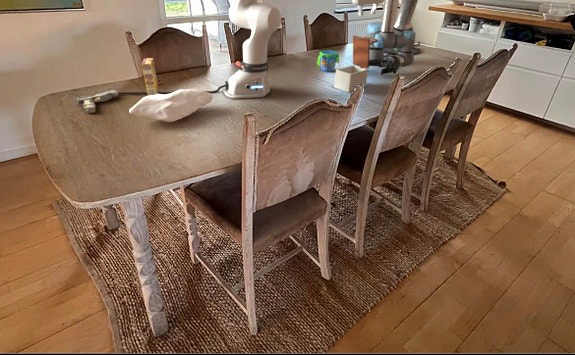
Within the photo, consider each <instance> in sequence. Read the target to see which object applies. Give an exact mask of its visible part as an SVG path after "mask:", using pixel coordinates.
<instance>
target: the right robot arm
mask: <svg viewBox="0 0 575 355" xmlns="http://www.w3.org/2000/svg"><path fill="white" fill-rule="evenodd" d="M399 1H400V0H384V2H383V6H382V13H381V20H380V21H372V22H370V23H368V25H367V27H366V32H365V33H366V34H365V37H369V38H373V39H377V40H378V42H377V43H373V44H371V45H370V51H369V67H378V68H382V69H381V70H380V75H381V76H383V75H386V74H389V73H390V74H392V73H393V74H396V73H397V71H398V70H399V69H401V68H405V67H408V66H410V65H412V64H413V63H414V60H415V54H412V50H413V47H418V46H420V44H421V42H420V41H418V42H417V44H415V42H416V36H417V33H416V32H415V30H414V26H413V24H412V20H413V16H414V14H415V10H416V8H417V5H418V2H419V0H401V2H400V5H399ZM398 7H399V8H398ZM370 43H371V41H370ZM384 48H394V49H393V50H395V49H399V52H398V54H394V55H391V54H392V53H387V54H385V52H383V49H384ZM393 50H392V51H393ZM361 68H363V67H361Z"/></svg>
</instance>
